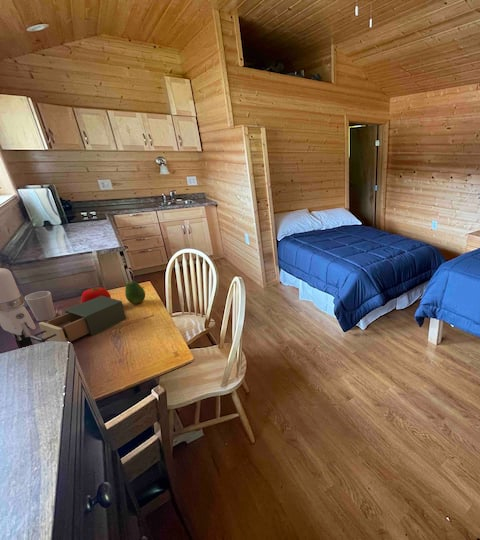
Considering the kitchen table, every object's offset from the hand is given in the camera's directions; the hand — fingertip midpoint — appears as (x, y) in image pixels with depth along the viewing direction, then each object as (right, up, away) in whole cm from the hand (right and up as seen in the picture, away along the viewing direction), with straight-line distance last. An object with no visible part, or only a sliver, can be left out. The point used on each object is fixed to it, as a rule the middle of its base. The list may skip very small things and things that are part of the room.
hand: (26, 346), depth 111 cm
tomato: (-4, +10, +35) cm, 36 cm away
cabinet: (+7, +4, +23) cm, 25 cm away
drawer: (+3, +1, +12) cm, 13 cm away
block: (+4, +2, +12) cm, 13 cm away
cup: (-18, +6, +24) cm, 31 cm away
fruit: (+10, +11, +42) cm, 45 cm away
